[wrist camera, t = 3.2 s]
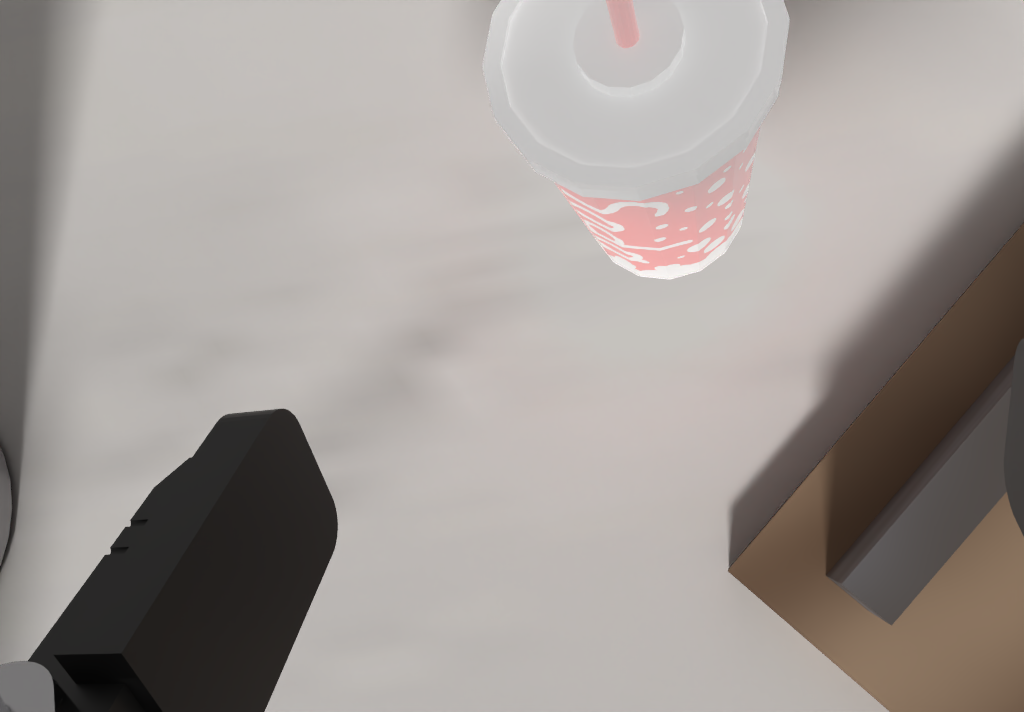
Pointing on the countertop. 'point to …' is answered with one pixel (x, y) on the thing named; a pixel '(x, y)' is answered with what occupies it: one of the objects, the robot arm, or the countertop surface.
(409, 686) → the countertop surface
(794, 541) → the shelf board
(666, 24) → the beverage cup
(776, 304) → the countertop surface
